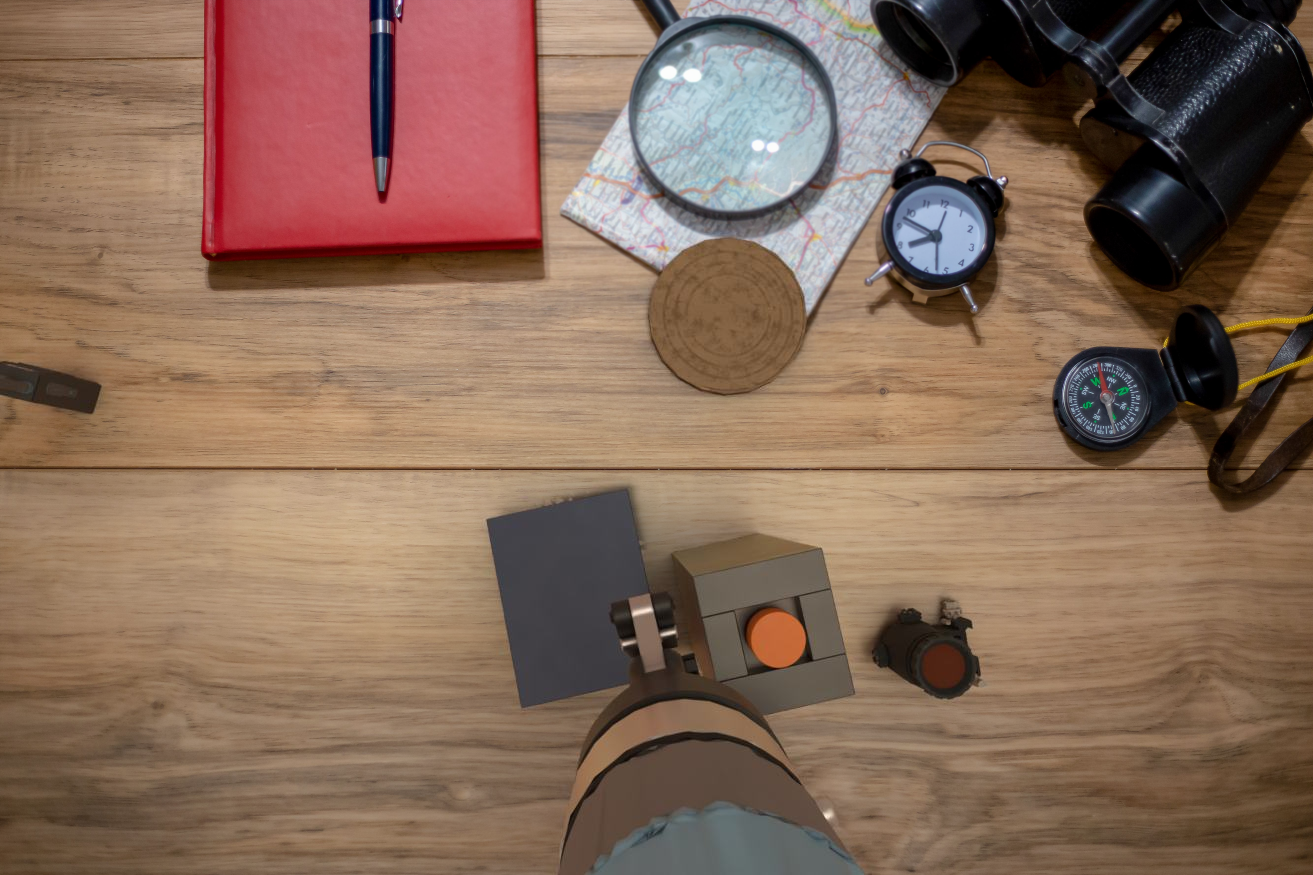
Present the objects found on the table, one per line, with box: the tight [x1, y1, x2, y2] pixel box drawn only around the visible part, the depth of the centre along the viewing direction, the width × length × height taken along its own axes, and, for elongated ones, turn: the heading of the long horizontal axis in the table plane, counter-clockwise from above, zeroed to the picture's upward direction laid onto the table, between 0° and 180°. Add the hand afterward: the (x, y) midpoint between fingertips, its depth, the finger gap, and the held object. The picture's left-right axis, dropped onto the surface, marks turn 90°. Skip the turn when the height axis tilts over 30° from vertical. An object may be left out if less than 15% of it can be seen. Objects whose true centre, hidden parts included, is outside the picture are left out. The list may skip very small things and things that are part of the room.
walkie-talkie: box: [0, 360, 102, 415], centre depth 78 cm, size 5×3×20 cm
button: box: [746, 608, 806, 668], centre depth 58 cm, size 4×4×2 cm
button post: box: [671, 532, 856, 717], centre depth 74 cm, size 10×9×30 cm
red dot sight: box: [871, 599, 989, 701], centre depth 82 cm, size 8×14×10 cm
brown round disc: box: [647, 236, 808, 397], centre depth 89 cm, size 16×16×3 cm
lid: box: [485, 488, 651, 709], centre depth 78 cm, size 17×13×1 cm
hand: (661, 670), depth 52 cm, fingers closed
